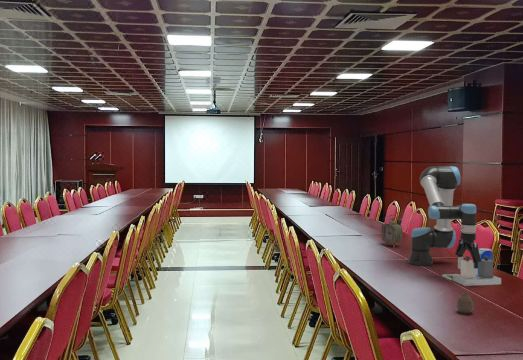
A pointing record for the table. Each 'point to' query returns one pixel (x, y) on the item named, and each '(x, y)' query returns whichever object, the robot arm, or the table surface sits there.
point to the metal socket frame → (477, 280)
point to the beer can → (485, 254)
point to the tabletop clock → (391, 232)
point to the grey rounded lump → (464, 303)
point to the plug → (466, 268)
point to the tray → (448, 275)
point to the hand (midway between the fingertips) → (467, 271)
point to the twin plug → (486, 268)
